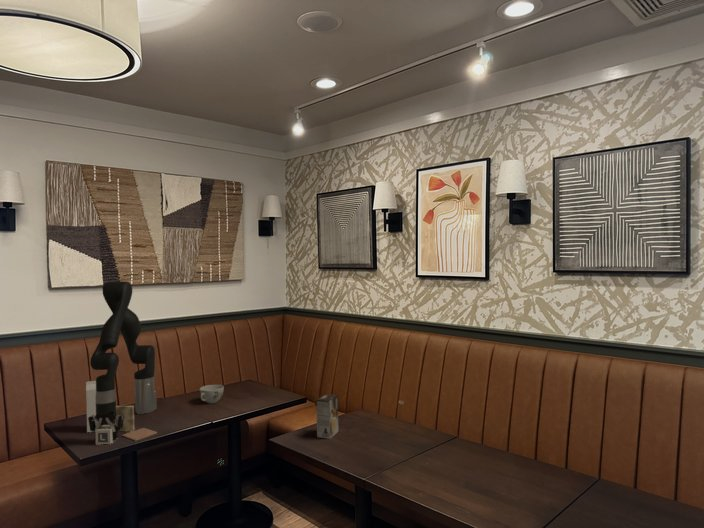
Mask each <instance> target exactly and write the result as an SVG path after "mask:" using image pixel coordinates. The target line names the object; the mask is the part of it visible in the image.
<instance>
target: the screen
mask: <svg viewBox="0 0 704 528" xmlns="http://www.w3.org/2000/svg"><path fill="white" fill-rule="evenodd" d="M116 413H117V415H122V414H123V415H124V420H123V428H122V429H120V430H118V431H125V432H124V434H127V433H130V432H133V431H136V430H137V429H136V426H135V405H116ZM115 421H116V423H117V425H118V420H117V418H116V419H115ZM112 424H113V423H112Z"/></svg>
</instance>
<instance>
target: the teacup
mask: <svg viewBox="0 0 704 528" xmlns="http://www.w3.org/2000/svg"><path fill="white" fill-rule="evenodd" d="M224 388H225V385H223V384H209V385H208V384H206V385H204V386H202V387H200V388H199V394H200V400H201V401H203V402H206V403H207V404H216V403H218V402H219V401H220V399H222V397H223V394H224V390H225V389H224Z"/></svg>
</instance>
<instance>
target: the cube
mask: <svg viewBox="0 0 704 528" xmlns="http://www.w3.org/2000/svg"><path fill="white" fill-rule="evenodd" d="M95 431H96V439H95V445H96V446H102V445H103V444H110V445H112V444H113V443H114V442H115V441H113V430H112V428H110V426H109V425H102V427H100V428H99V429H97V430H95ZM111 443H112V444H111ZM101 444H102V445H101Z"/></svg>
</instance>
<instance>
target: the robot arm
mask: <svg viewBox="0 0 704 528" xmlns="http://www.w3.org/2000/svg"><path fill="white" fill-rule="evenodd" d="M102 295H103V298H104V299H103V300H104V301H105V303H106V304H107V306H108V307H109V308H108V309H110V311H111V312H112V314H111V315H110V317H108V319H107V320H106V321H105V322H104V325H103V326H102V327H101V328H102V329H101V332H100V338H99V342H98V343H97V345H96V348H95V350H94V352H93V353H92V355H91V357H90V362H89V363H90V367H91V368H92V369H93V370H94V371H105V370H106V373H105V374H102V375H101V374H100V375H99V376H97V377H96V379H95V381H96V415H95V416H94V415H92V416H90V417H89V418H88V420H89V426H90V431H94V437H95V440H96V431H95V430H97V429H99V428H100V427H102V425H109V426H110V428H112V430H113V441H114V442H116V439H117V440H118V438H119V432H118V430H120V429H122V428H123V420H124V415H123V414H122V415H117V413H116V406H117V396H116V395H117V394H116V374H117V370H118V367H119V362H120V358H119V355H118V353H116V352H107V351H109V350H111V349H114V348H116V347H117V346H118V343H119V338H120V333H121V336H122V338H123V340H124V342H125V345H126V349H127V352H128V356H129V359H130V361H131V363H132V364H135V365H140V364H141V365H144V368H141V369H139V370H136V371H135V372H134V374H133V376H134V377H133V385H134V386H133V387H134V389H133V390H134V414H136V413H137V415H146V414H150V413H153V412H154V410H155V411H156V409H157V408H158V405H157V404H158V403H157V401H158V400H157V390H155V368H156V366H155V361H156V359H155V358H156V351H155V347H154V345H151V344H150V345H149V344H145V345H144V344H143V345H139V344H138V343H137V340H138V337H139V336H140V334H141V332H142V324H141V322H140V318H139V317H138V315H137V314H136V313H135V312H134V311H132V310H131V309H130V308H129V305H130V302H131V300H132V296H133V286H132V284H131V283H130V282H129V281H123V280H122V281H108V282H105V283H104V284H103V285H102ZM145 413H146V414H145ZM116 418H117V420H118V425H117V423H116V421H115V419H116ZM95 419H96V420H97V421H98V423H97V426H96V424H95ZM112 423H113V424H112Z"/></svg>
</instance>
